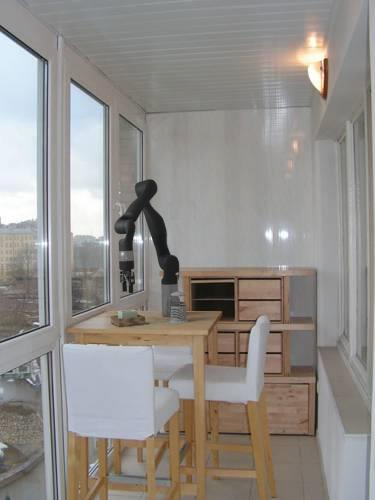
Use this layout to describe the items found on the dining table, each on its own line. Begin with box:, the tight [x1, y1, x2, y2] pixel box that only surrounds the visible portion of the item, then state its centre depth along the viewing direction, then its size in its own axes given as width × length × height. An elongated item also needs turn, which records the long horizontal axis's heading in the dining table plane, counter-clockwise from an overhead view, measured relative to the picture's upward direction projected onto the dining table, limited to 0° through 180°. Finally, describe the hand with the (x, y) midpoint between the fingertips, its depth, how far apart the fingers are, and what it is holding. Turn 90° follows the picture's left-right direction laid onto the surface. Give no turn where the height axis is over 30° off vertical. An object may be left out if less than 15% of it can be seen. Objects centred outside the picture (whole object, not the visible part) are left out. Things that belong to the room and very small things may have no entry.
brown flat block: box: [110, 313, 146, 328], centre depth 274 cm, size 13×12×4 cm
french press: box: [165, 272, 189, 324], centre depth 278 cm, size 10×12×25 cm
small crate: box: [117, 309, 138, 319], centre depth 273 cm, size 8×6×6 cm
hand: (127, 292), depth 273 cm, fingers open, 8 cm apart
